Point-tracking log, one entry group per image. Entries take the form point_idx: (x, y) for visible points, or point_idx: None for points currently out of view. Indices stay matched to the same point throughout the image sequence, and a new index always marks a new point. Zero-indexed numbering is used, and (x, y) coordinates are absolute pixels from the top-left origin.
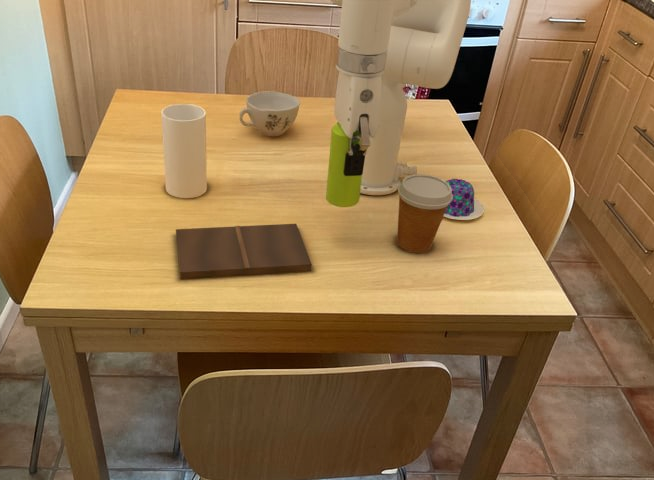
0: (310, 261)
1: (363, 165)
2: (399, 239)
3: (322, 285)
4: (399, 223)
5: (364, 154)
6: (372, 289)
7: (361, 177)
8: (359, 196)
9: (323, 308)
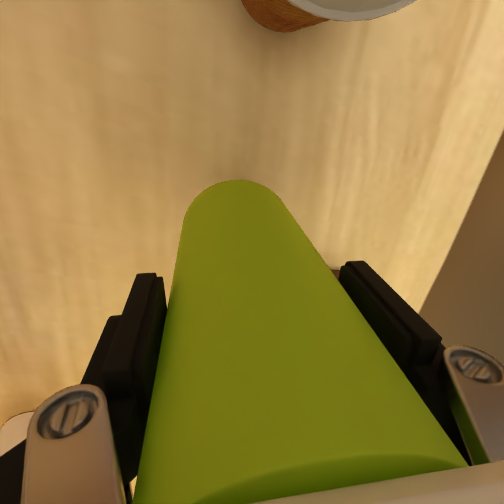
0: (337, 279)
1: (389, 287)
2: (295, 29)
3: (382, 258)
4: (302, 25)
5: (481, 361)
6: (424, 169)
7: (292, 224)
8: (265, 190)
9: (436, 267)
